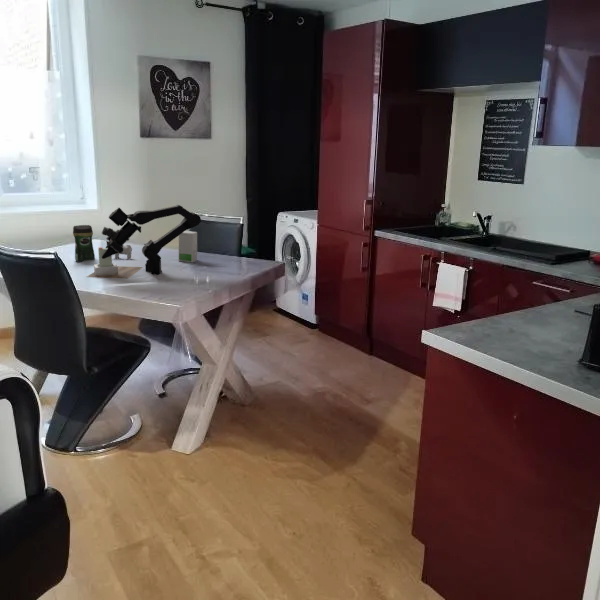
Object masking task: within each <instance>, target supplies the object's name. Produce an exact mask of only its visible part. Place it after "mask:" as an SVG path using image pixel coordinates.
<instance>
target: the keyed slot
mask: <svg viewBox="0 0 600 600" xmlns="http://www.w3.org/2000/svg"><path fill="white" fill-rule="evenodd" d="M93 271H94V272H93V273H95V276H107V275H118V264H117V263H116V262H114V263H113V262H112V266H104V267H99V263H94V264H93Z"/></svg>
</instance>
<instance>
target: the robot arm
mask: <svg viewBox="0 0 600 600" xmlns="http://www.w3.org/2000/svg"><path fill="white" fill-rule="evenodd" d="M175 215H180V216H182V217H183V219H182V220H181V222H180V223H179V224H177V225H176V226H175V227H173V228H172V229H171V230H169V231H168V232H165V234H163V235H162V236H161V237H159V238H158V239H157V240H154V241H153V240H152V239H150V240H149V241H148V242H147V243H144V244H143V246H142V249H141V253H142V255H143V256H144V257H145V258H147V260H146V261H145V262H146V263H145V265H144V267H145V273H146V272H147V273H151V274H152V275H160V274H161V273H163V270H162V257H161V256H160V255H159V253H160V252H161V250H162V249H163V248H164V247H165V246H166V245H168V244H169V243H170V242H172V241H173V240H175V239H176V238H178V237H179V235H180V234H182V233H183V232H184V231H189V230H191V229H193V228H195V227H197V226H199V225H200V224H201V221H202V218H201V216H200V215H199V214H197V213H195V212H192V211H189V210H188V209H186V208H184V207H183V206H182V205H180V204H176V205H173V206H168V207H164V208H160V209H159V208H158V209H154V210H137V211H135V212H134V213H130V214H127V213H125V212H124V211H123V210H122V208H121V207H117V208H116V209H115V210H114V211H112V212H111V213H110V214H109V215H108V219H109V220H110V221H112V223H114V224H115V225H116V226H117V227H120V226H122V227H121V228H120V229H116V230H113V228H110V227H106V226H104V227H103V229H102V231H101V235H102V236H107V237H106V246H105V248H108V249H107V250H106V251H105V253H104V254H103V256H102V258H103V259H105V258H107V257H109V256H112V257H113V256H115V254H117V253H120V254H119V255H122V254H121V253H122V252H123V246H124V244H125V243H126V242H127V241H130V238H131V237H132V236H133V235H134V234H135V233H136V232H137V231H138V232H139V233H142V226H143V225H145V224H147V223H150V222H152V221H153V220H156V219H162V218H166V217H170V216H175ZM129 220H130V221H129ZM138 225H139V226H138Z"/></svg>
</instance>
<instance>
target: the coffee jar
mask: <svg viewBox="0 0 600 600" xmlns="http://www.w3.org/2000/svg"><path fill="white" fill-rule="evenodd" d="M72 234H73V235H72V236H74V245H75V246H74V249H75V250H74V261H76V262H79V263H83V262H86V261H94V260H96V256H95V250H94V245H93V234H94V232H93V227H92V225H90V224H82V225H74V226H73V228H72Z"/></svg>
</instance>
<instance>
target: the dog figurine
mask: <svg viewBox="0 0 600 600" xmlns="http://www.w3.org/2000/svg"><path fill="white" fill-rule="evenodd" d="M132 251H133V248H132V246H131V245H130V244H126V245H123V252H122V253H121V254H120V253H117V254H114V260H118V259H119V258H120V255H125V256H127V257H126V261H129V260H130V259H129V258H132Z"/></svg>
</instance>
